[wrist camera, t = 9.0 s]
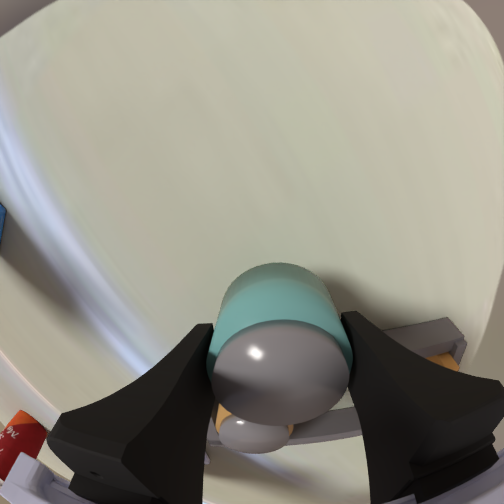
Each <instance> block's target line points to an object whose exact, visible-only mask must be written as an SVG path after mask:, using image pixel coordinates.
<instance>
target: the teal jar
mask: <svg viewBox="0 0 504 504" xmlns="http://www.w3.org/2000/svg"><path fill="white" fill-rule="evenodd" d="M352 361H353V356H352V349H351V346H350V343H349V341H348V338H347V335H346V333H345V330H344V328H343V325H342V323H341V320H340V318H339V315H338V313H337V310H336V308H335V305H334V303H333V300H332V298H331V296H330V293H329V291H328V289H327V287H326V286H325V284H324V283H323V282H322V280H321V279H320V278H319V277H317V276H316V275H315V274H314V273H312V272H311V271H309V270H307V269H305V268H303V267H300V266H298V265H294V264H289V263H269V264H263V265H260V266H256V267H254V268H252V269H249V270H248V271H246V272H244V273H243V274H241V275H240V276H239V277H237V278H236V279H235V280H234V281H233V282H232V284H231V285H230V286H229V287H228V289H227V291H226V293H225V295H224V298H223V301H222V304H221V308H220V311H219V315H218V319H217V322H216V326H215V329H214V333H213V337H212V340H211V344H210V347H209V351H208V355H207V360H206V368H207V373H208V376H209V379H210V381H211V385H212V390H213V393H214V395H215V397H216V399H217V401H218V402H219V403H220V404H221V405H222V407H224V408H225V409H226V410H227V411H228V412H230V413H231V414H233V415H235V416H236V417H238V418H240V419H243V420H245V421H248V422H252V423H256V424H260V425H269V426H284V425H293V424H298V423H302V422H305V421H308V420H311V419H314V418H316V417H318V416H320V415H322V414H323V413H325V412H327V411H328V410H329V409H331V408H332V407H333V406H334V405H335V404H337V403H338V401H339V400H340V399H341V398H342V396H343V395H344V393H345V391H346V389H347V387H348V383H349V374H350V371H351V367H352Z"/></svg>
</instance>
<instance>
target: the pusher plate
mask: <svg viewBox="0 0 504 504" xmlns="http://www.w3.org/2000/svg"><path fill="white" fill-rule="evenodd" d="M425 359H427V360H430V361H432V362H434V363H436V364H439V365H441V366H444V367H446V368H449V369H452V370H455V371H458V370H459V366H458V365H457V363H456V362H455V360H454V359H453V358H452V356H451V355H450V353H449V352H445V353H442V354H438V355H435V356H431V357H428V358H425Z"/></svg>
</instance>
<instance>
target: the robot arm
mask: <svg viewBox="0 0 504 504" xmlns="http://www.w3.org/2000/svg"><path fill="white" fill-rule="evenodd" d="M341 323H342V325H343V328H344V330H345V333H346V335H347V338H348V341H349V343H350V346H351V349H352V356H353V361H352V367H351V371H350V374H349V383H348V389H349V392H350V394H351V397H352V400H353V403H354V406H355V409H356V411H357V414H358V418H359V421H360V425H361V430H362V435H363V440H364V446H365V452H366V459H367V466H368V475H369V485H370V500H371V504H504V448H503V449H502V450H500V451H499V452H497V453H496V451H495V449H494V447H493V445H492V443H494V441H495V437H494V435H493V433H492V432H493V431H494V429H495V428H496V427H497V425H498V424H499V423H500V421H501V420H502V419H503V417H504V387H503V386H502V384H501V383H500V381H498V380H493V379H487V378H481V377H475V376H471V375H468V374H464V373H461V372H458V371H455V370H452V369H449V368H446V367H444V366H441V365H439V364H436V363H434V362H432V361H430V360H427V359H425V358H424V357H422V356H420V355H418V354H416V353H414V352H412V351H411V350H409V349H407V348H406V347H404V346H403V345H401V344H400V343H398V342H396V341H395V340H394V339H392V338H391V337H389V336H388V335H387V334H385V333H384V332H383V331H381V330H380V329H379V328H377V327H376V326H375V325H373V324H372V323H371V322H370V321H368V320H367V319H366V318H365V317H363V316H362V315H361V314H360V313H358V312H357V311H351V312H343V313H341ZM213 333H214V329H213V324H212V323H207V324H197V325H196V326H195V327H194V328H193V329H192V330H191V331H190V332H189V333H188V334H187V335H186V336H185V337H184V338H183V339H182V341H181V342H180V343H179V344H178V345H177V346H176V347H175V348H174V349H173V350H172V351H171V352H170V353H168V354H167V355H166V356H165V357H164V358H163V359H162V360H161V361H159V362H158V363H157V364H156V365H155V366H154V367H153V368H151V369H150V370H149V371H148V372H146V373H145V374H144V375H142V376H141V377H139V378H138V379H137V380H135V381H134V382H132V383H131V384H129V385H127V386H125V387H124V388H122V389H120V390H119V391H117V392H115V393H113V394H112V395H110V396H108V397H105V398H103V399H101V400H99V401H97V402H94V403H92V404H89V405H87V406H84V407H81V408H78V409H75V410H72V411H69V412H65V413H62V414H61V415H60V417H59V419H58V420H57V422H56V424H55V425H54V427H53V429H52V430H51V432H50V434H49V435H48V437H47V444H48V446H49V447H50V449H51V450H52V451H53V453H54V454H55V455H56V456H57V457H58V458H59V459H60V460H61V461H62V462H63V463H65V464H66V465H67V466H68V467H69V468H70V469H71V470H72V471H73V472H74V476H73V478H72V480H71V482H69V481H67V480H65V479H63V478H61V477H59V476H56V475H54V473H53V472H52V471H51V470H49V468H47V467H46V466H45V465H44V464H42V463H41V462H39V461H37V460H36V459H34V458H32V457H30V456H29V455H27V454H25V453H23V452H21V453H20V455H19V456H18V458H17V460H16V461H15V463H14V465H13V467H12V469H11V470H10V472H9V474H8V476H7V478H6V480H5V482H4V484H3V485H2V487H1V489H0V495H1V496H3V497H4V498H5V499H6V500H8V501H9V502H10V503H11V504H202V496H203V473H204V464H209V463H210V459H209V457H208V456H207V454H206V452H205V449H206V440H207V432H208V427H209V423H210V418H211V414H212V410H213V406H214V402H215V398H216V397H215V395H214V393H213V390H212V385H211V381H210V379H209V376H208V373H207V368H206V360H207V355H208V351H209V347H210V344H211V340H212V337H213Z"/></svg>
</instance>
